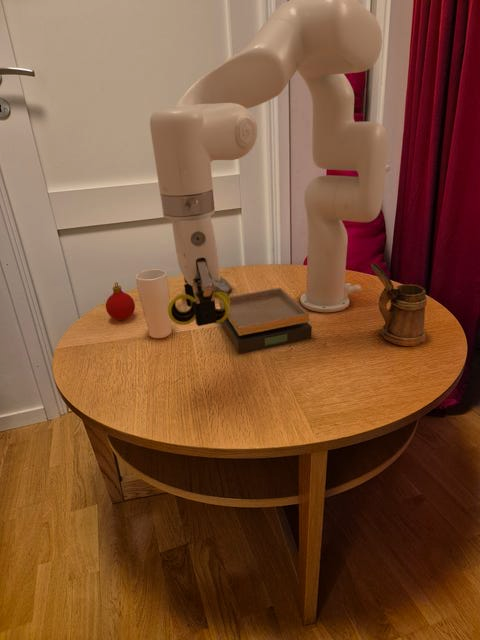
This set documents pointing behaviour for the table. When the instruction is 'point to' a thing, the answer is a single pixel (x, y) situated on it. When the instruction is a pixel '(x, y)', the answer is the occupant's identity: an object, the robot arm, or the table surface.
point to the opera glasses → (189, 315)
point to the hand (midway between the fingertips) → (201, 312)
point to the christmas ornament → (120, 304)
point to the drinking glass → (155, 301)
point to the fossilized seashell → (220, 286)
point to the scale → (266, 336)
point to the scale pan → (264, 311)
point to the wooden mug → (402, 311)
